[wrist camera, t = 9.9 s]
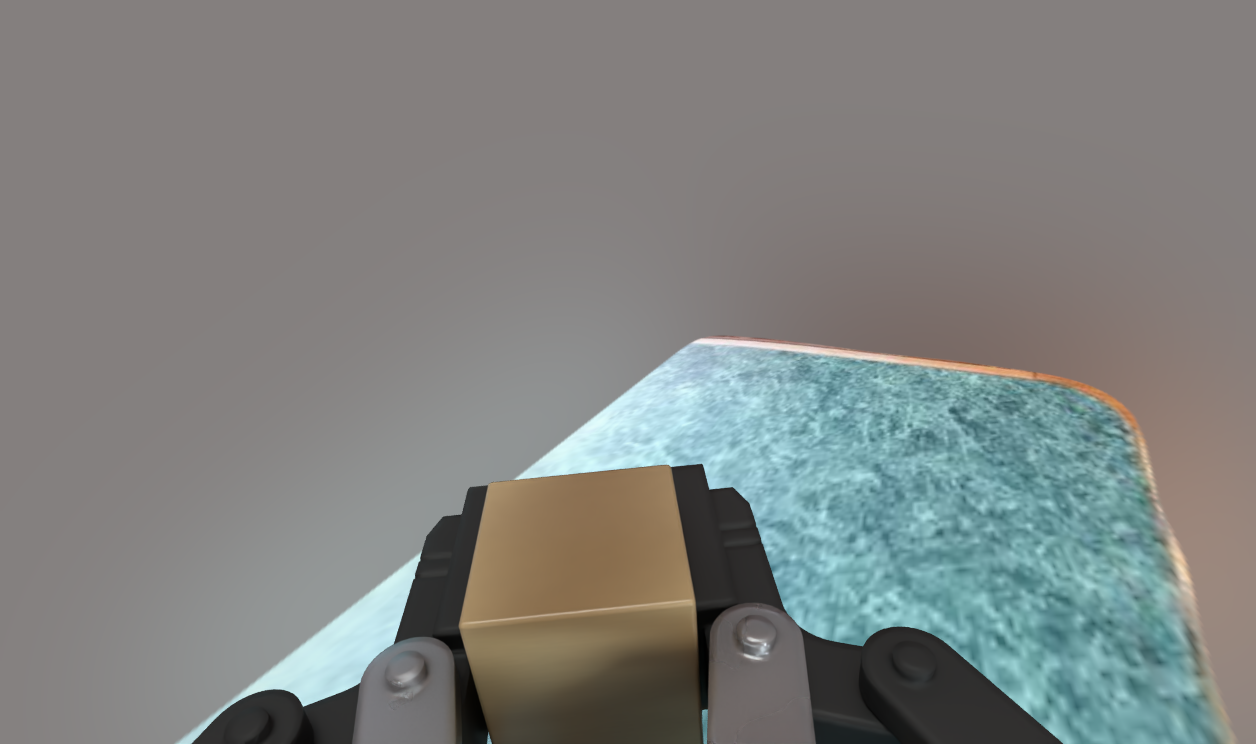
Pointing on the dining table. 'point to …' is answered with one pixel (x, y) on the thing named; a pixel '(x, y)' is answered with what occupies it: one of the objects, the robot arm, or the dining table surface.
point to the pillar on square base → (584, 612)
